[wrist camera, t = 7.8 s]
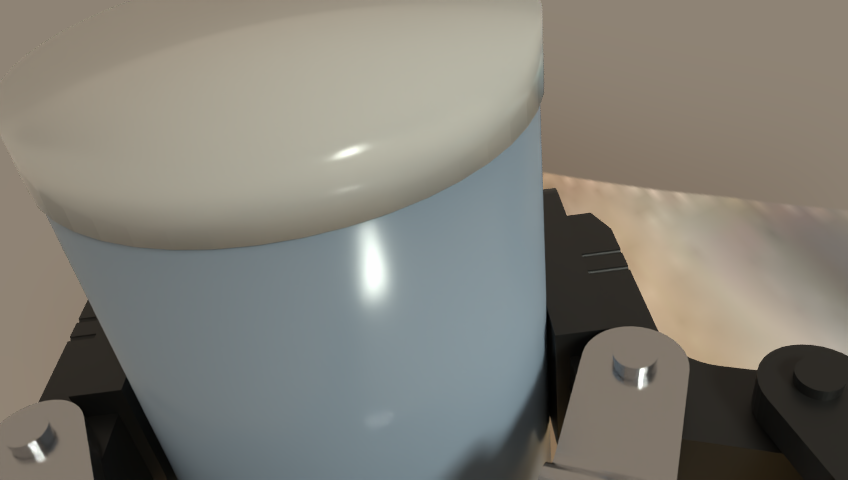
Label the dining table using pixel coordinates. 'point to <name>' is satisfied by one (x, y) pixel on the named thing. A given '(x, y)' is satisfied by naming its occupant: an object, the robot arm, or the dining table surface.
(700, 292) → the dining table surface
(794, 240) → the dining table surface
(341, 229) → the tumbler
